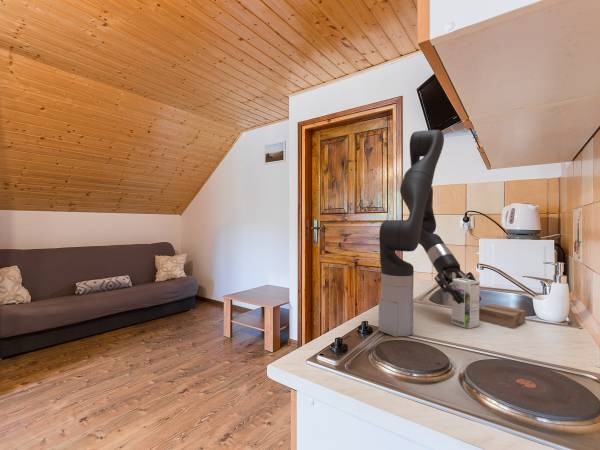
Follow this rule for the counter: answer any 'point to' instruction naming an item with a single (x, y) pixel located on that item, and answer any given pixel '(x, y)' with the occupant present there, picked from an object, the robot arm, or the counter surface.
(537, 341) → the counter surface
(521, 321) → the walnut base
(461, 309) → the syrup box
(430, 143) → the robot arm
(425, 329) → the counter surface
